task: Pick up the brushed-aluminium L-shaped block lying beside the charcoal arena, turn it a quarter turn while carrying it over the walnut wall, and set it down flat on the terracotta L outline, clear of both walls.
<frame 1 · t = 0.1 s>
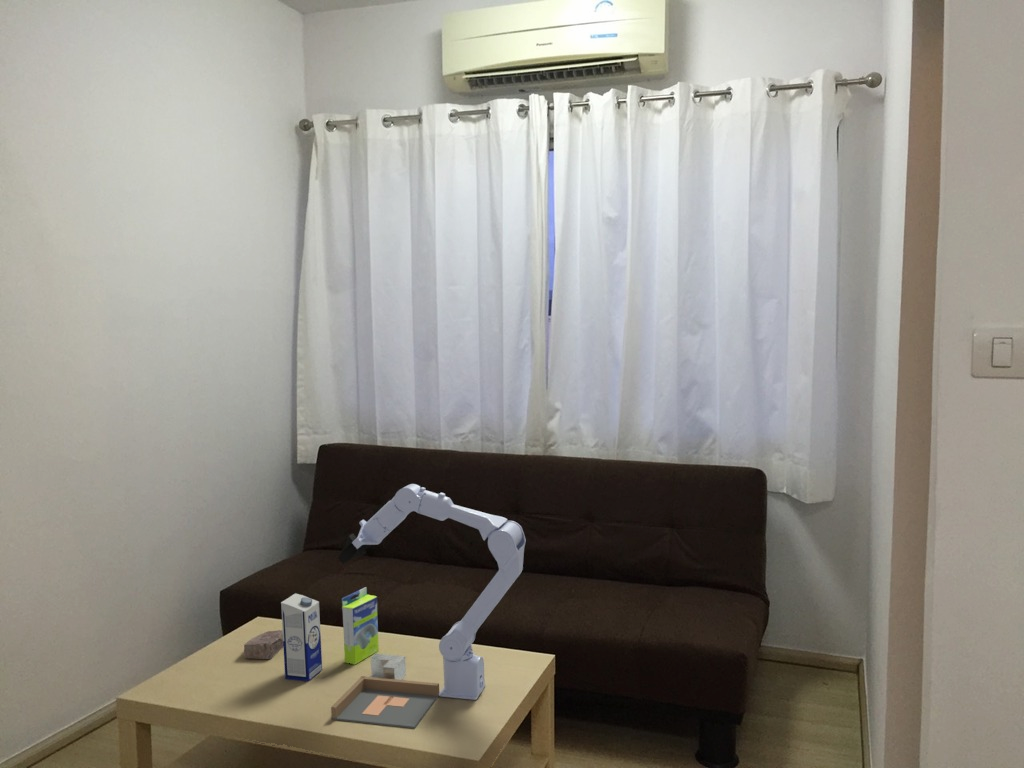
hand: (347, 555, 201), 32 cm above the table, tool tilted 50°, fingers open, 7 cm apart
box: (362, 657, 218), on the table
arena: (387, 707, 189), on the table
stone: (265, 653, 223), on the table
milk carton: (304, 675, 208), on the table
l block: (388, 676, 205), on the table
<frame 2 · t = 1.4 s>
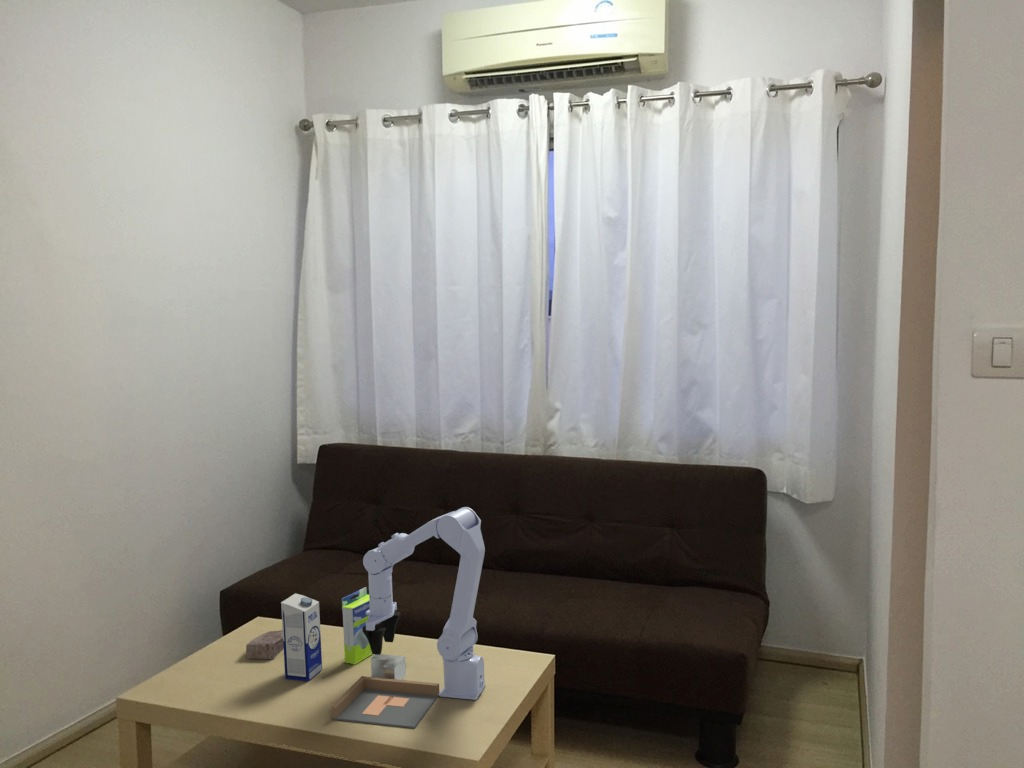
hand: (383, 647, 205), 7 cm above the table, tool pointing down, fingers open, 7 cm apart
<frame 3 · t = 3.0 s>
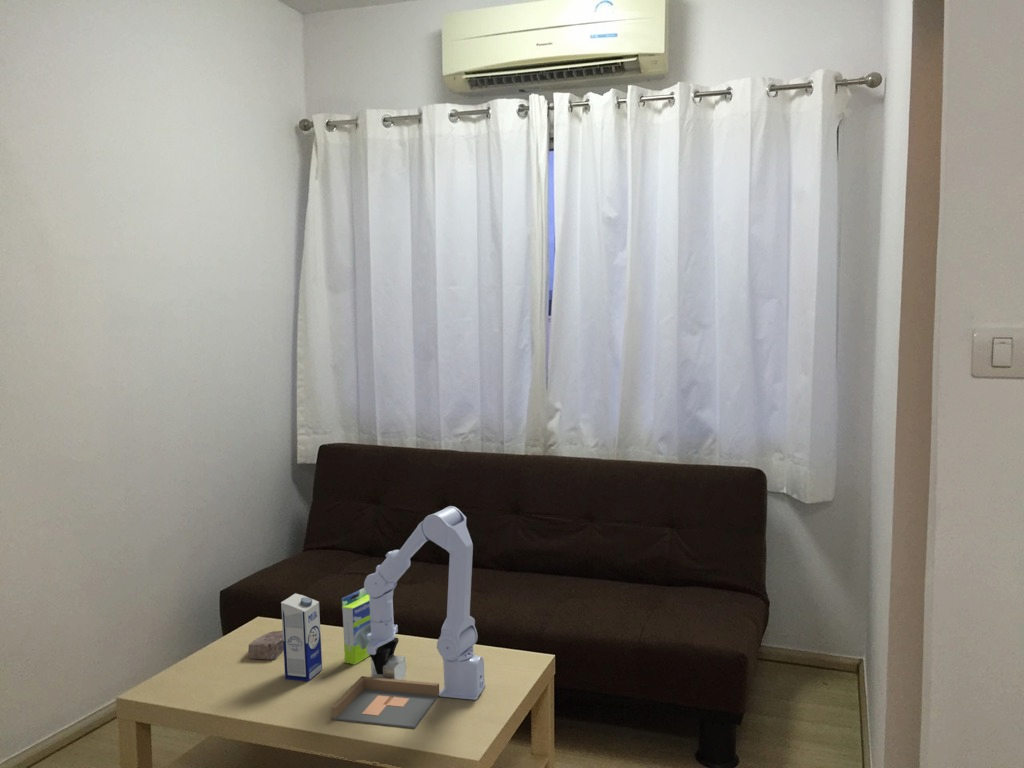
hand: (384, 670, 205), 1 cm above the table, tool pointing down, fingers closed on l block, 3 cm apart
l block: (388, 676, 205), on the table, touching gripper
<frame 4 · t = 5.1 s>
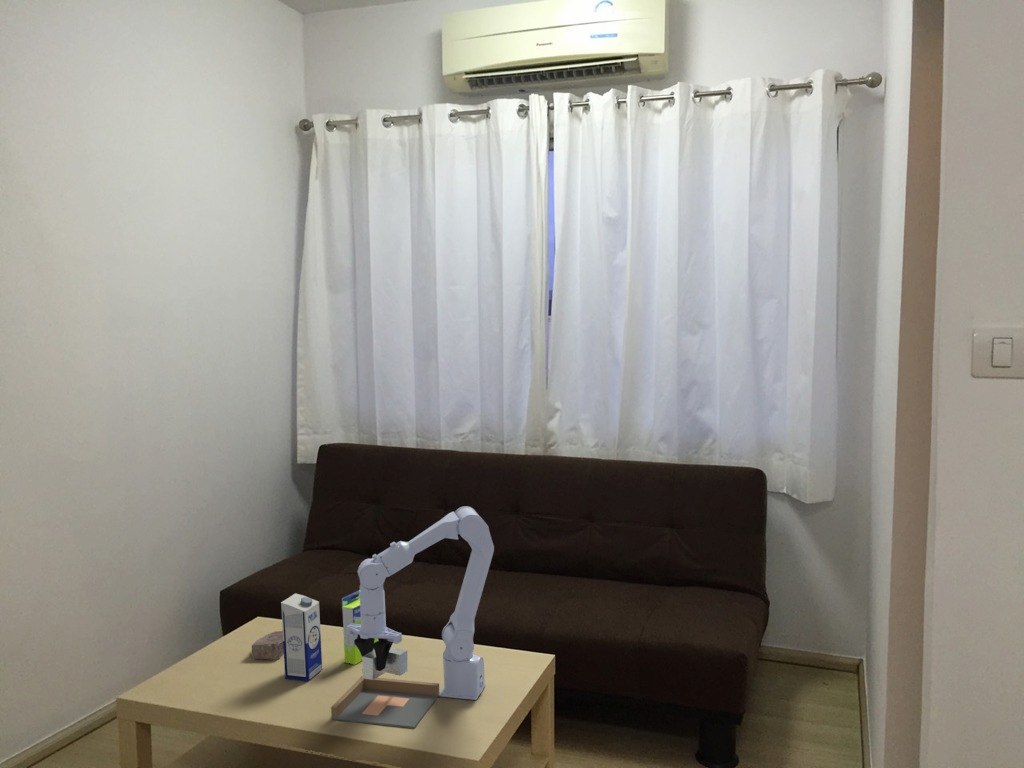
hand: (375, 667, 191), 8 cm above the table, tool pointing down, fingers closed on l block, 3 cm apart
l block: (378, 672, 192), point 7 cm above the table, touching gripper
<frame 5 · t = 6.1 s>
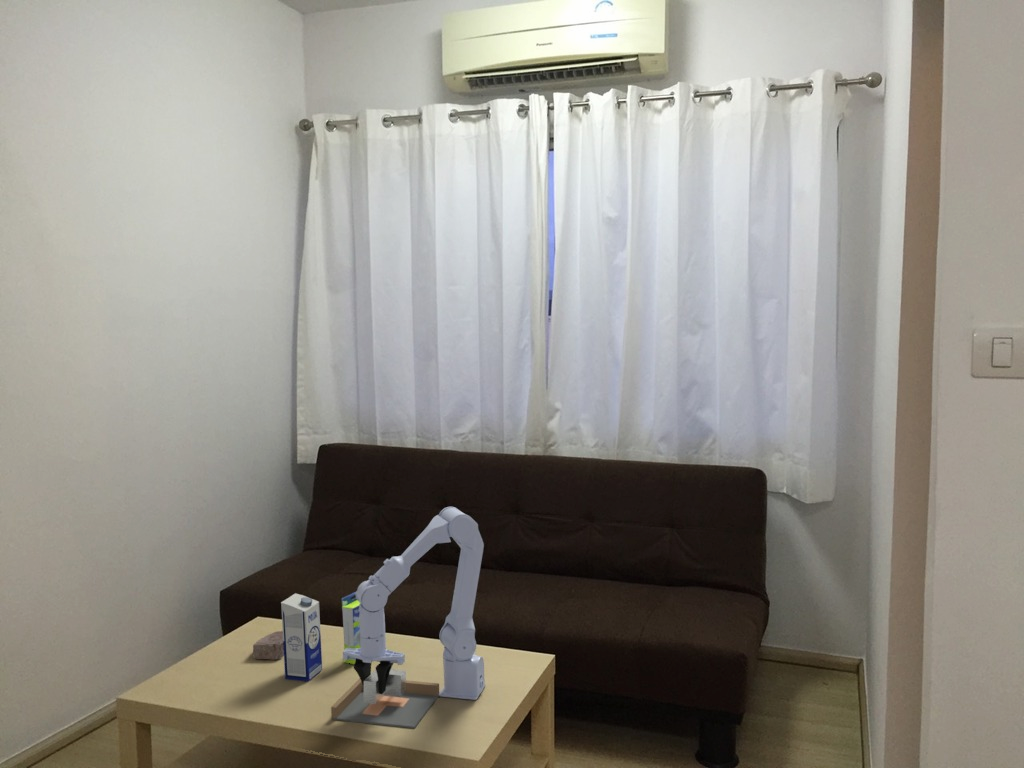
hand: (375, 691, 188), 4 cm above the table, tool pointing down, fingers closed on l block, 3 cm apart
l block: (377, 695, 189), point 3 cm above the table, touching gripper
when the fingers open (3 cm above the table, at t = 7.1 s): l block stays where it is, resting on arena.
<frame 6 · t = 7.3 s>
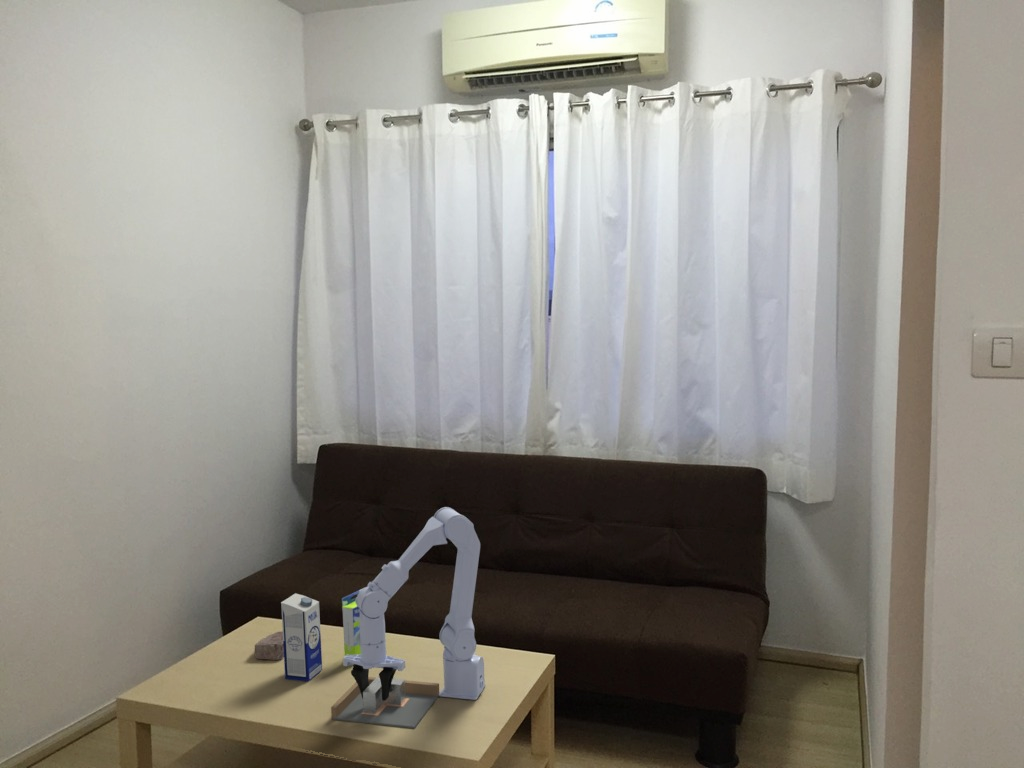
hand: (375, 697, 188), 3 cm above the table, tool pointing down, fingers open, 4 cm apart
l block: (377, 705, 189), resting on arena
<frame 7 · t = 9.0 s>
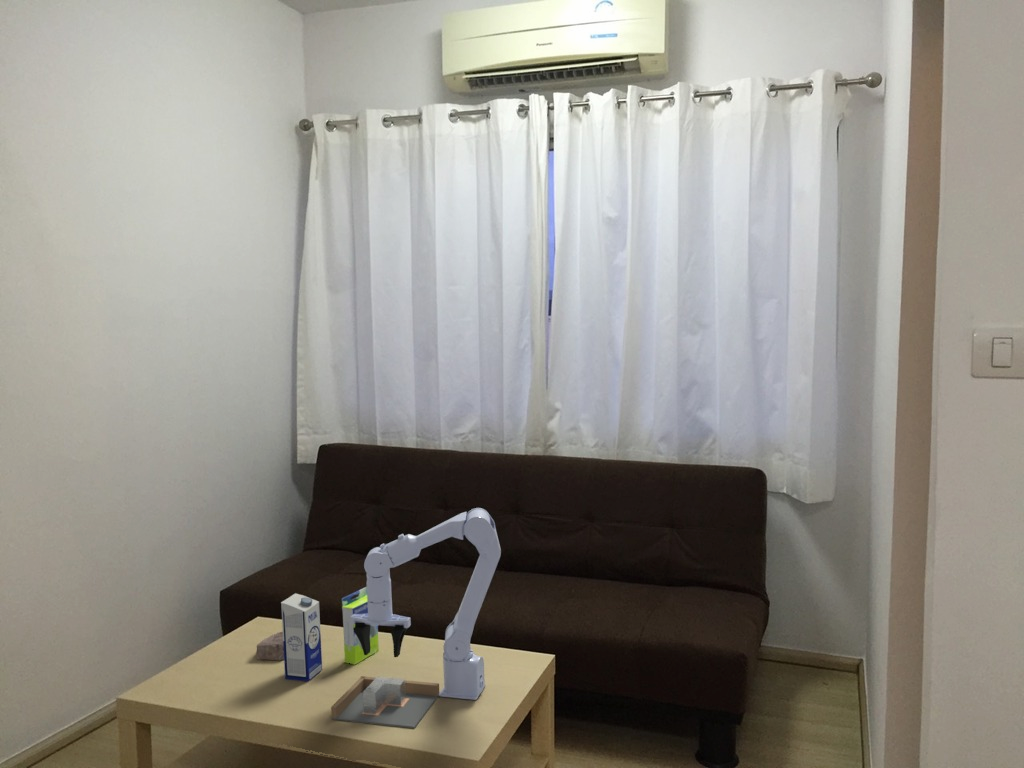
hand: (382, 654, 195), 10 cm above the table, tool pointing down, fingers open, 7 cm apart
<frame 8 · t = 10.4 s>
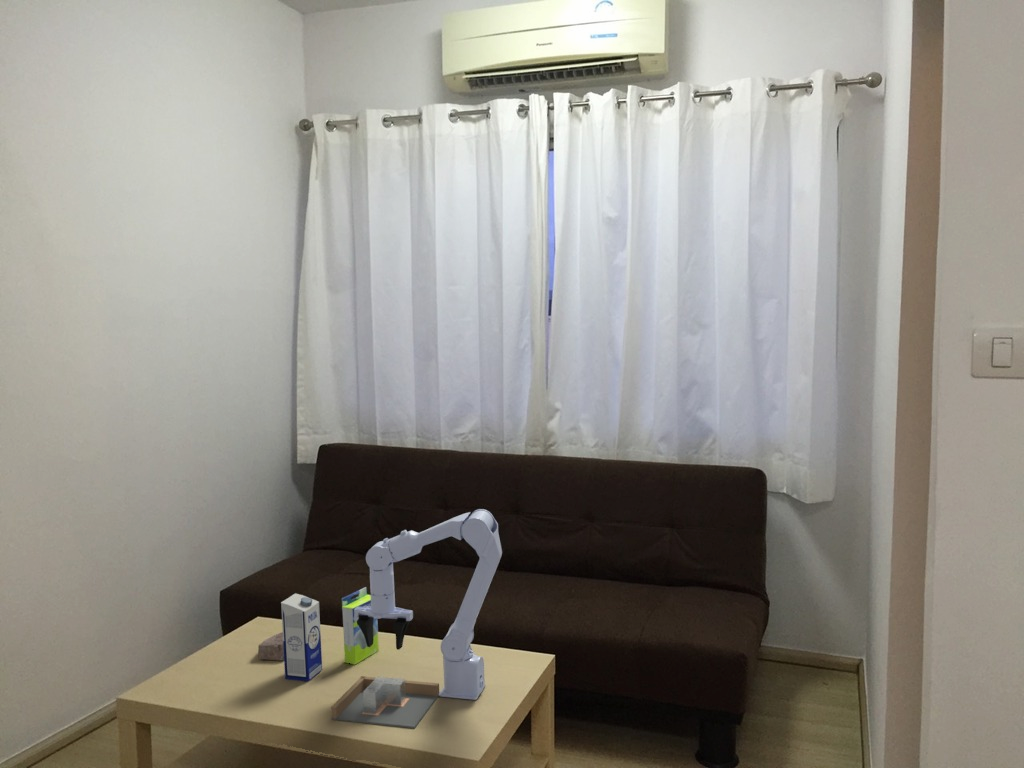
hand: (384, 646, 198), 10 cm above the table, tool pointing down, fingers open, 7 cm apart
at the end: l block 0.2 cm from the target spot on the arena, point 0.5 cm above the arena's base; l block tilted 0°; the gripper is holding nothing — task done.
